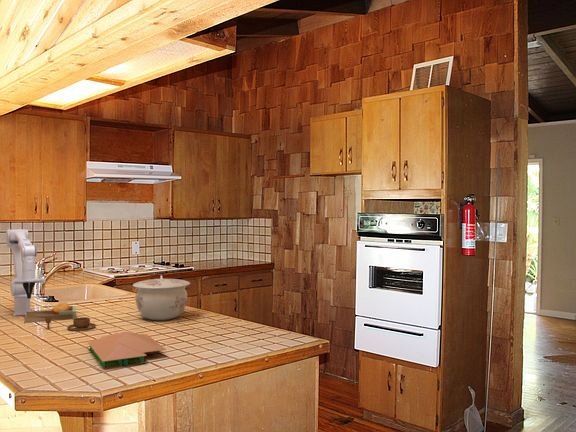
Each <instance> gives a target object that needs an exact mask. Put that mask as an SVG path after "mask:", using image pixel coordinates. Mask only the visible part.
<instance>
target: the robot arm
mask: <svg viewBox="0 0 576 432" xmlns="http://www.w3.org/2000/svg"><path fill="white" fill-rule="evenodd" d="M5 242H6V246H7V248H9V249H11V254H12V262H13V267H14V275H15V278H14V279H12V280H10V281H11V282H10V288H9V289H10V295H11V296H12V297H13V298H14V301H13V302H14V305H13V306H14V312H13V314H12V316H14V317H15V316H26V312H33V310H31V299H32V295H33V294H34V291H35V289H34V288H35V285H36V284H46V278H45V277H44V278H43V277H42V278H38V277H37V278H36V257H37V253H38V250H37V246H36V244H33V243H32V242H31V240H30V239H29V230H28V229H27V228H24V229H23V228H20V229H18V228H16V229H6V231H5Z"/></svg>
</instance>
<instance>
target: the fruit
mask: <svg viewBox="0 0 576 432" xmlns="http://www.w3.org/2000/svg"><path fill="white" fill-rule="evenodd" d="M69 306H70V305H69V304H68V303H67V302H60V303H57V304H55V305H54V306H53V308H52V309H51V310H52V311H53V314H54V315H57V314H59V311H70V307H69Z"/></svg>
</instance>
